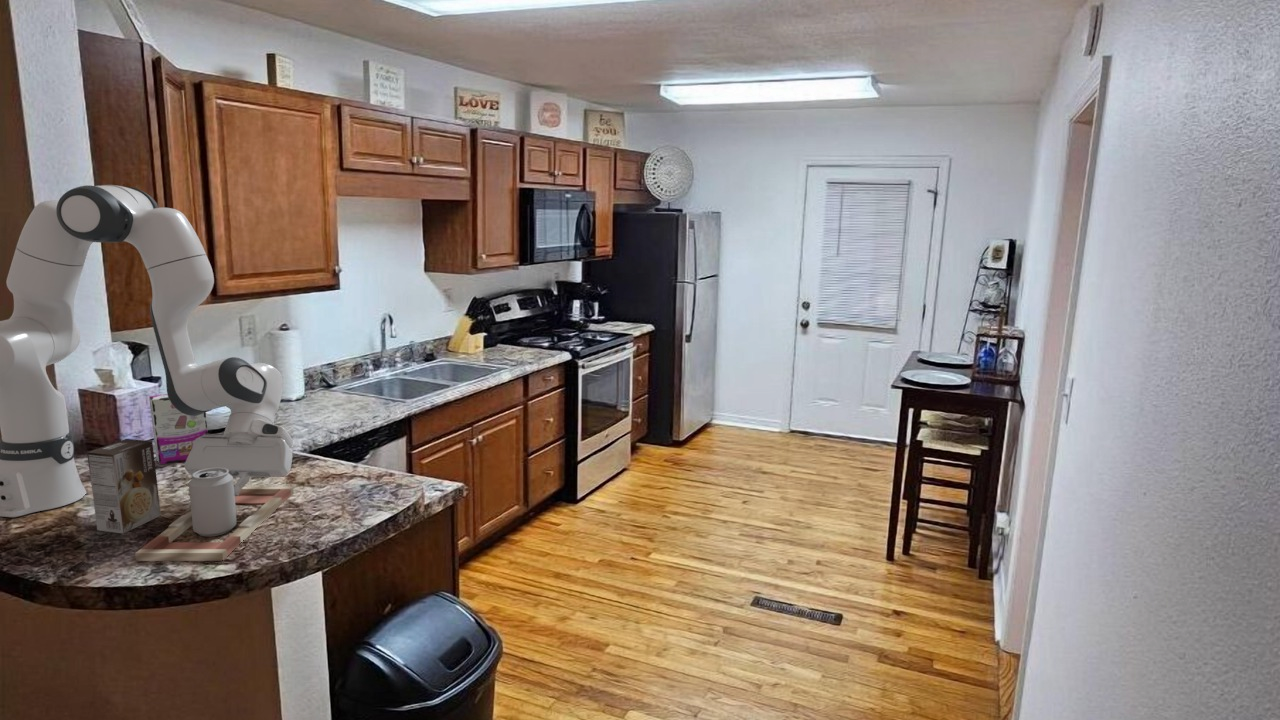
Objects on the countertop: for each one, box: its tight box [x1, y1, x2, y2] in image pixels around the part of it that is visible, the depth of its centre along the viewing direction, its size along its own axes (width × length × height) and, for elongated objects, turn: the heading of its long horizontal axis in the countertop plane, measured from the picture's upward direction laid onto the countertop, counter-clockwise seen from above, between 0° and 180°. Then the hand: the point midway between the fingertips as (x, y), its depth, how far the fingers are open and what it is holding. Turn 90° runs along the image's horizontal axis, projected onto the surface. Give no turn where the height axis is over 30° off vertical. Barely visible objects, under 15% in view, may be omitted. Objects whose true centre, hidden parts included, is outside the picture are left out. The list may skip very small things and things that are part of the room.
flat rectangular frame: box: [134, 486, 295, 562], centre depth 153 cm, size 15×33×2 cm, turn 4°
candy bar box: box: [148, 393, 209, 465], centre depth 188 cm, size 11×5×16 cm, turn 131°
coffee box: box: [86, 438, 162, 534], centre depth 150 cm, size 9×6×16 cm
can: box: [188, 468, 238, 537], centre depth 148 cm, size 8×8×12 cm
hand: (229, 494), depth 155 cm, fingers closed
